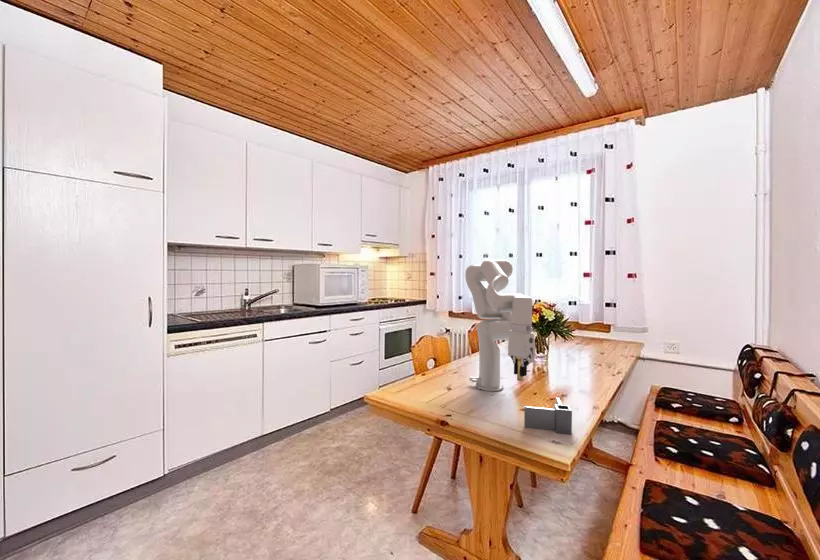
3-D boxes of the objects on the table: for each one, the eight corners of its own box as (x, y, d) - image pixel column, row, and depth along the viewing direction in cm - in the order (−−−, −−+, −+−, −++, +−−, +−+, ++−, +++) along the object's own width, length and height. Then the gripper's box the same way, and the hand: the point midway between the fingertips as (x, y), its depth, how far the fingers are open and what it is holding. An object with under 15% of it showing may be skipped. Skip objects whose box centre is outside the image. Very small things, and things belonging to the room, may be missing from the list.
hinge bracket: (524, 429, 121) (524, 406, 120) (522, 412, 135) (522, 391, 135) (571, 434, 117) (571, 410, 117) (564, 416, 131) (564, 395, 131)
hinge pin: (515, 381, 136) (516, 356, 135) (515, 378, 139) (515, 354, 139) (524, 381, 135) (525, 357, 135) (524, 379, 138) (525, 355, 138)
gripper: (545, 330, 131) (543, 379, 132) (512, 323, 145) (511, 367, 146) (531, 332, 127) (529, 382, 128) (499, 325, 141) (498, 370, 142)
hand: (520, 374), depth 137 cm, fingers closed on hinge pin, 2 cm apart
